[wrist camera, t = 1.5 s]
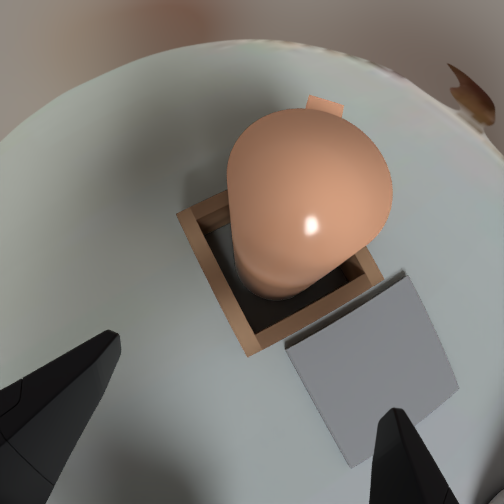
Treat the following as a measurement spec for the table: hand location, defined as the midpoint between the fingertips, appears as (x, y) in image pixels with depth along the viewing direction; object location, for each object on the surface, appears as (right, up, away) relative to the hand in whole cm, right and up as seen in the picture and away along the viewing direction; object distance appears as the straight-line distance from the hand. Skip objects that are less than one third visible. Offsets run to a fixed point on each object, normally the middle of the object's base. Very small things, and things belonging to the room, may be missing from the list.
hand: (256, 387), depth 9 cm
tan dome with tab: (+2, +5, +15) cm, 16 cm away
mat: (+10, -5, +12) cm, 16 cm away
